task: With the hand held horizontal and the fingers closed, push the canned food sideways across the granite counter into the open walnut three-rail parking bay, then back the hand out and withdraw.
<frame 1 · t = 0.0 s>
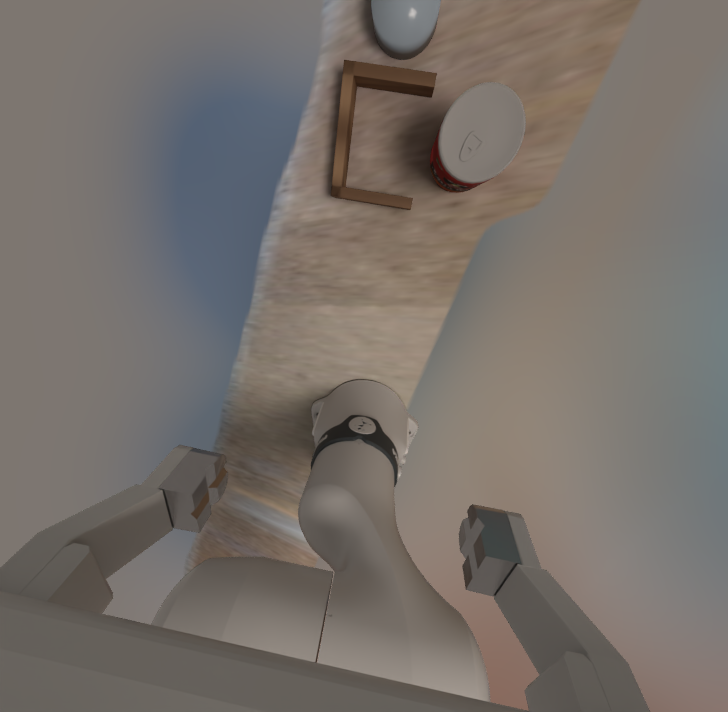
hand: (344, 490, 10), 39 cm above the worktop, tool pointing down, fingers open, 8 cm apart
bay: (385, 146, 39), on the worktop
canned food: (460, 158, 39), on the worktop
grey rounded cylinder: (405, 19, 35), on the worktop
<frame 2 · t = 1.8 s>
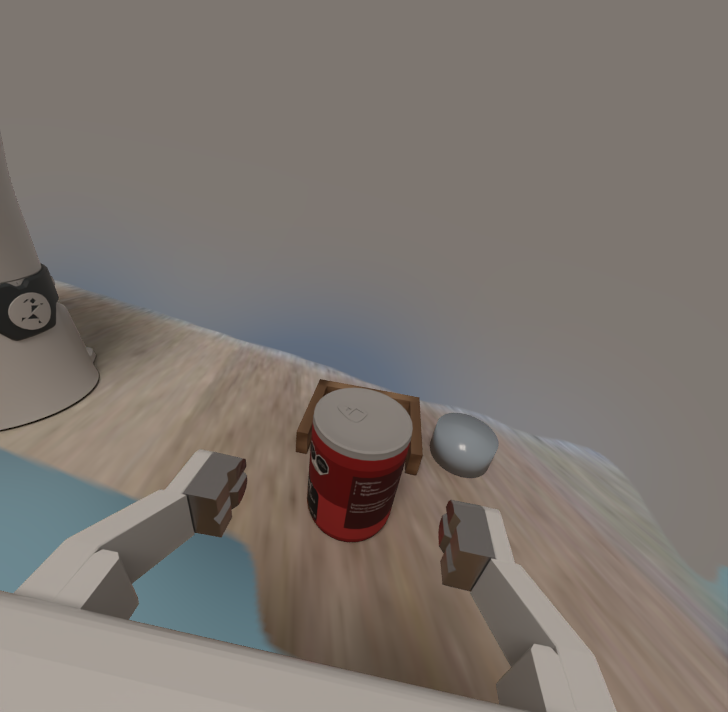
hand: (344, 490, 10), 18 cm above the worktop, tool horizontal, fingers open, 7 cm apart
bay: (360, 434, 38), on the worktop
canned food: (347, 505, 30), on the worktop
grey rounded cylinder: (458, 454, 38), on the worktop
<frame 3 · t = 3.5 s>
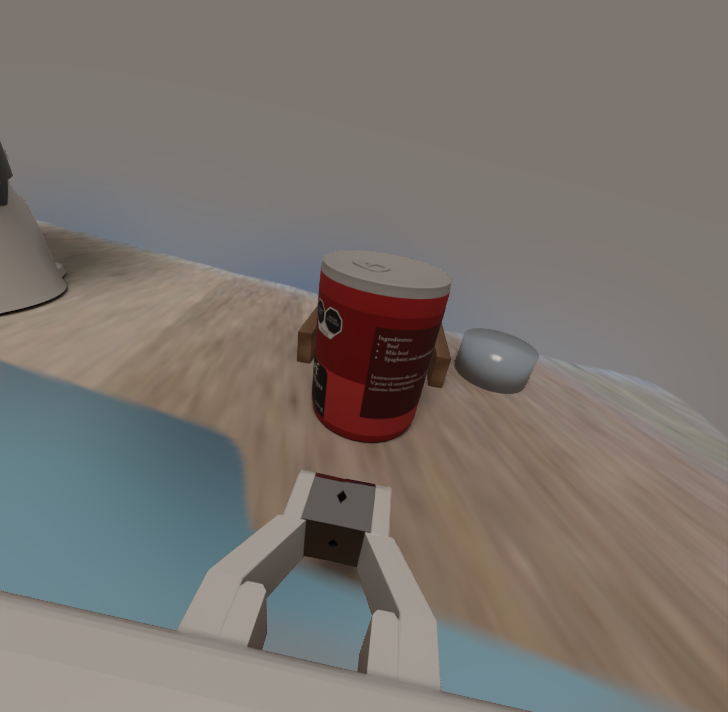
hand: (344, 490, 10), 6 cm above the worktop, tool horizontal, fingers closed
bay: (373, 351, 32), on the worktop
canned food: (361, 410, 24), on the worktop
grey rounded cylinder: (488, 374, 32), on the worktop
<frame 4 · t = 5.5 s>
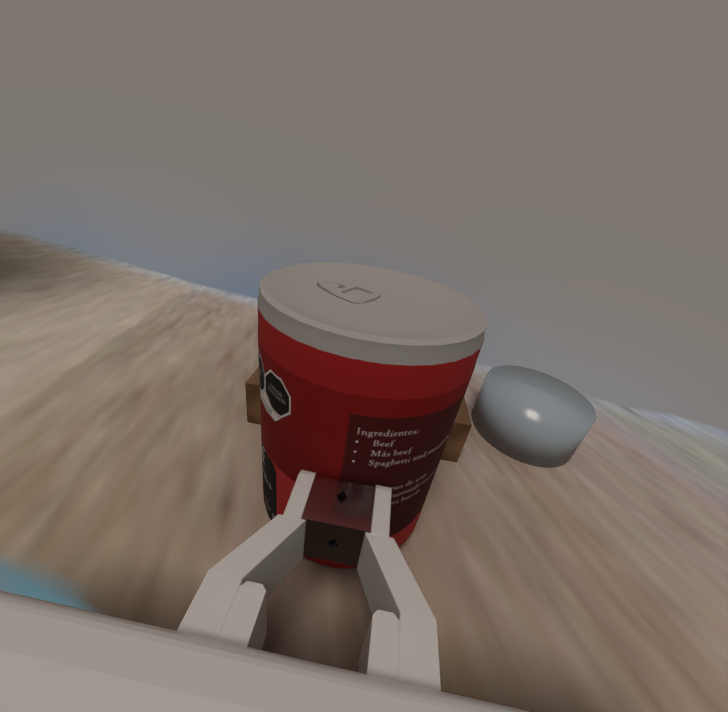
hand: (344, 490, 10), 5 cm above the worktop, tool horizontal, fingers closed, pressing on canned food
bay: (360, 398, 24), on the worktop
canned food: (341, 496, 16), on the worktop, touching gripper
grey rounded cylinder: (518, 430, 23), on the worktop
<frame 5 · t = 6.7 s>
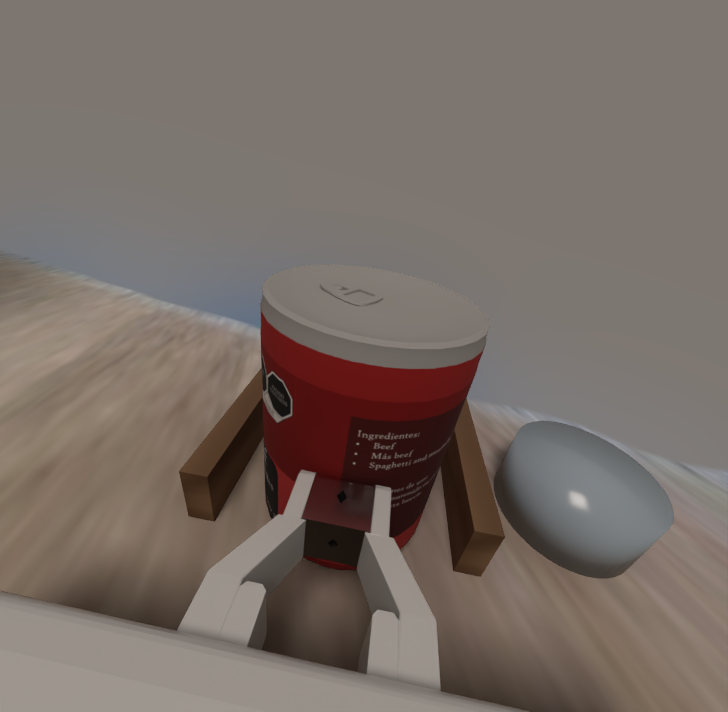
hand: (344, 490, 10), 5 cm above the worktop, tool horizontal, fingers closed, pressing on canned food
bay: (348, 467, 18), on the worktop
canned food: (342, 498, 16), on the worktop, touching gripper
grey rounded cylinder: (556, 510, 18), on the worktop
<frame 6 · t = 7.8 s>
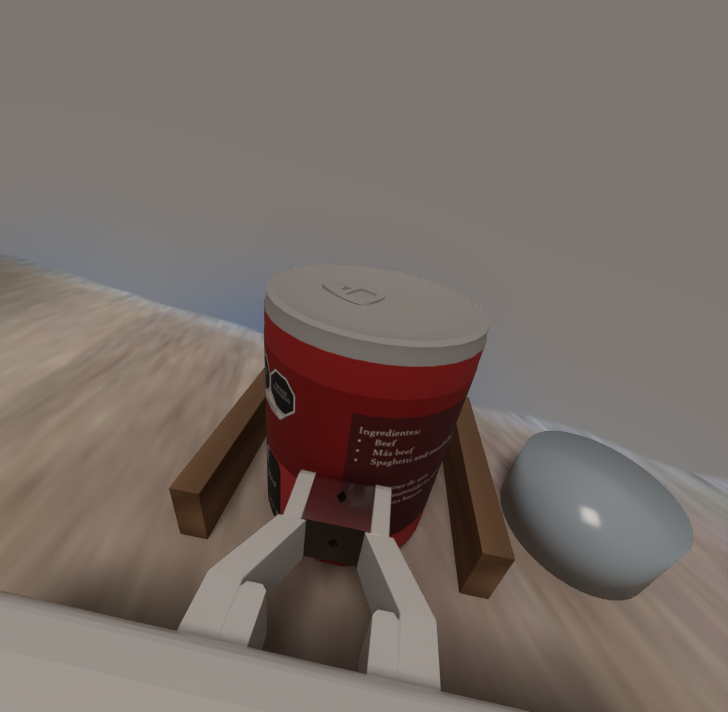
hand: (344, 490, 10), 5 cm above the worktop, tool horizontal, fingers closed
bay: (348, 479, 17), on the worktop
canned food: (344, 495, 17), on the worktop
grey rounded cylinder: (566, 525, 17), on the worktop
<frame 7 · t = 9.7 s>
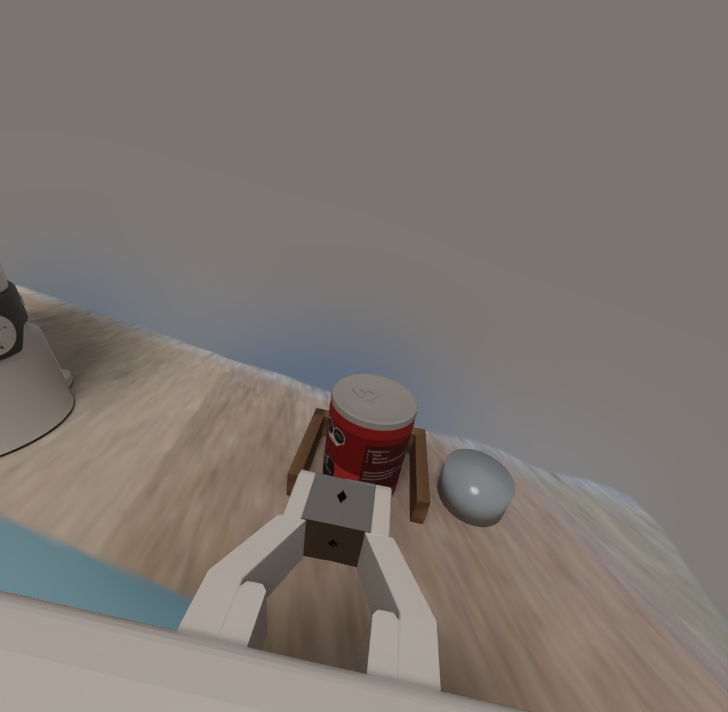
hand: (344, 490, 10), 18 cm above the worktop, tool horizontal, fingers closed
bay: (360, 472, 34), on the worktop
canned food: (358, 480, 34), on the worktop
grey rounded cylinder: (469, 496, 34), on the worktop
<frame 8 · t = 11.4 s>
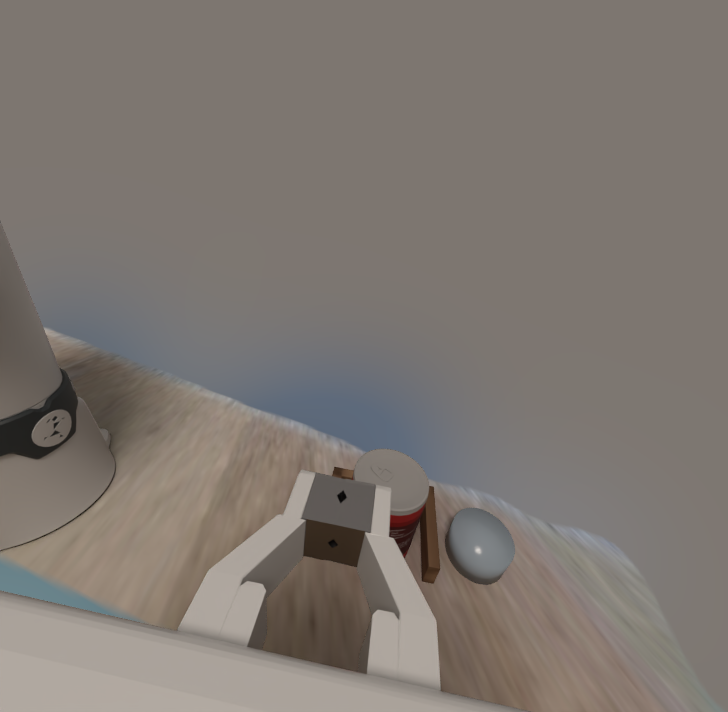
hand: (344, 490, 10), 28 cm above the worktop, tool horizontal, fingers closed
bay: (376, 531, 38), on the worktop
canned food: (374, 539, 38), on the worktop
grey rounded cylinder: (473, 552, 38), on the worktop
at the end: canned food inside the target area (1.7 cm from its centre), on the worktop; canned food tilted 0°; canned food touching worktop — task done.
